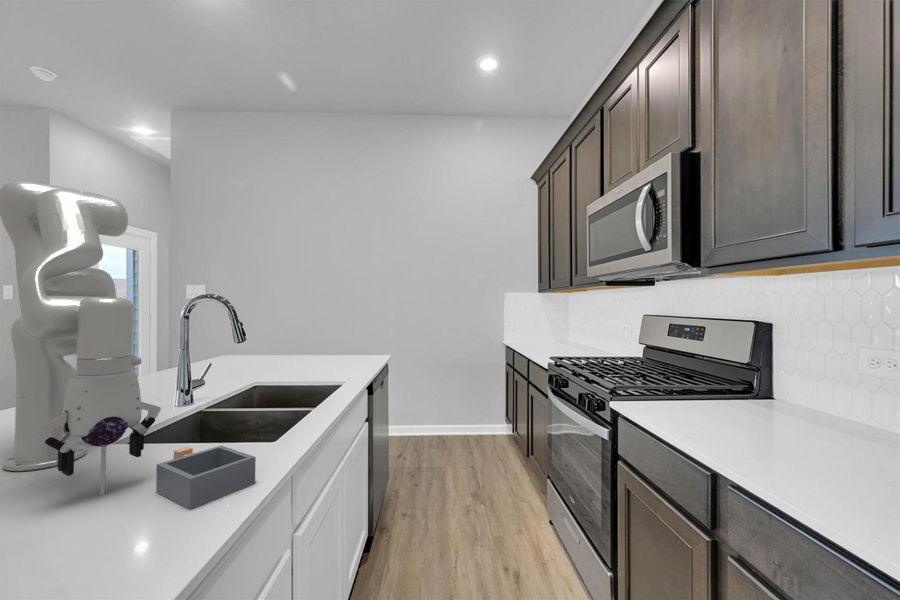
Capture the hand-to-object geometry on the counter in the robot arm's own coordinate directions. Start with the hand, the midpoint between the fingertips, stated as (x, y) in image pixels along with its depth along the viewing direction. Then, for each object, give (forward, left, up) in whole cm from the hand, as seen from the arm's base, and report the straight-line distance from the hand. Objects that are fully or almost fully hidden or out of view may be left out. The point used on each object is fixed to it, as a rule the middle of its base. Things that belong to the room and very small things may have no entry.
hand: (103, 464), depth 71 cm
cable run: (0, +14, -5) cm, 15 cm away
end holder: (+13, +11, -5) cm, 18 cm away
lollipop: (0, 0, -5) cm, 5 cm away
